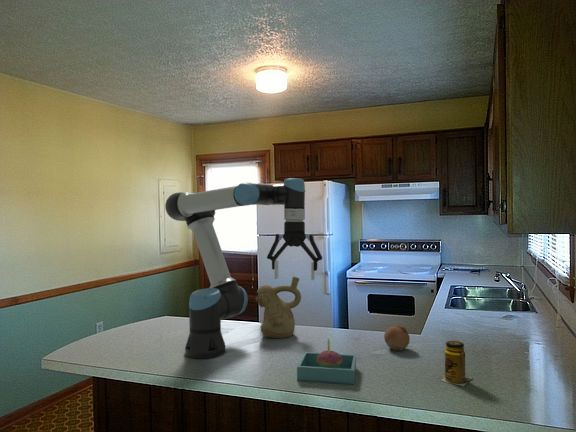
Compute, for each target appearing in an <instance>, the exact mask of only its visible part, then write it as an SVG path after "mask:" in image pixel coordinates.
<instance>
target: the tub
mask: <svg viewBox="0 0 576 432" xmlns="http://www.w3.org/2000/svg"><path fill="white" fill-rule="evenodd" d="M320 353H321V352H309V351H306V352H304V353H303V355H302V356H301V359H300V360H299V362H298V363H297V365H296V378H297V379H296V381H297V382H309V383H321V384H336V385H350V386H354V384H355V378H356V371H357V355H356V354H345V353H341V354H340V353H338V354H339V355H340V356H341V357H342V364H340V366H339V368H323V367H320V365H319V364H318V363H317V362H316V358H317V357H316V356H318V355H319V354H320Z"/></svg>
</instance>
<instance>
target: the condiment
mask: <svg viewBox="0 0 576 432" xmlns="http://www.w3.org/2000/svg"><path fill="white" fill-rule="evenodd" d="M472 379H473V377H471V376H470V377H468V376H466V351H465V344H464V343H463V342H462V341H458V340H448V341H446V342H445V350H444V377H443V378H442V379H440V380H439V381H440V382H444V383H448V384H451V385H455V386H462V387H465V386H466V385H467V384H468V383H470V381H471V380H472Z"/></svg>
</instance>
